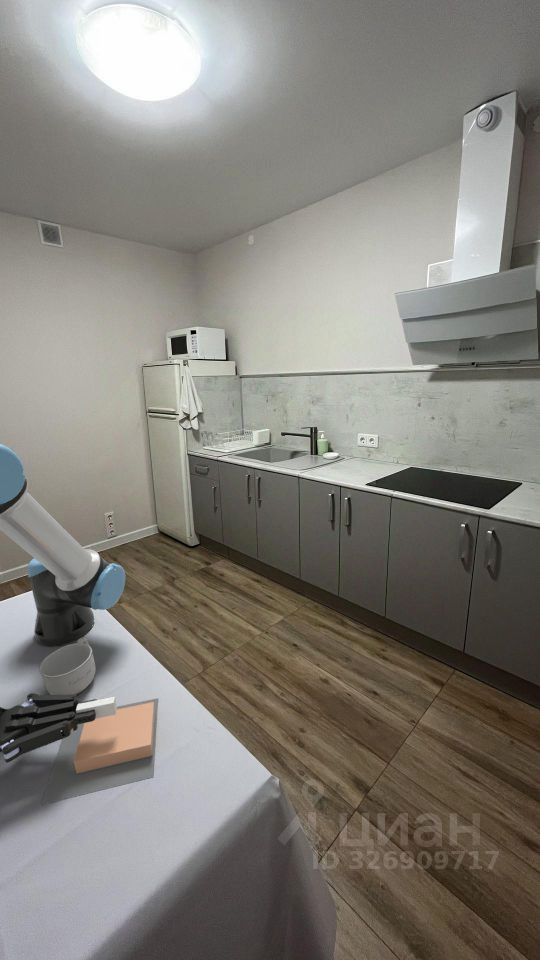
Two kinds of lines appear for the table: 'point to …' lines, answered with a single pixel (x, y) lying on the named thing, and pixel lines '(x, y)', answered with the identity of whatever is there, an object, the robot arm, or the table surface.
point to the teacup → (69, 668)
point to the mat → (76, 784)
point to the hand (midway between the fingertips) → (115, 705)
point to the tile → (116, 738)
